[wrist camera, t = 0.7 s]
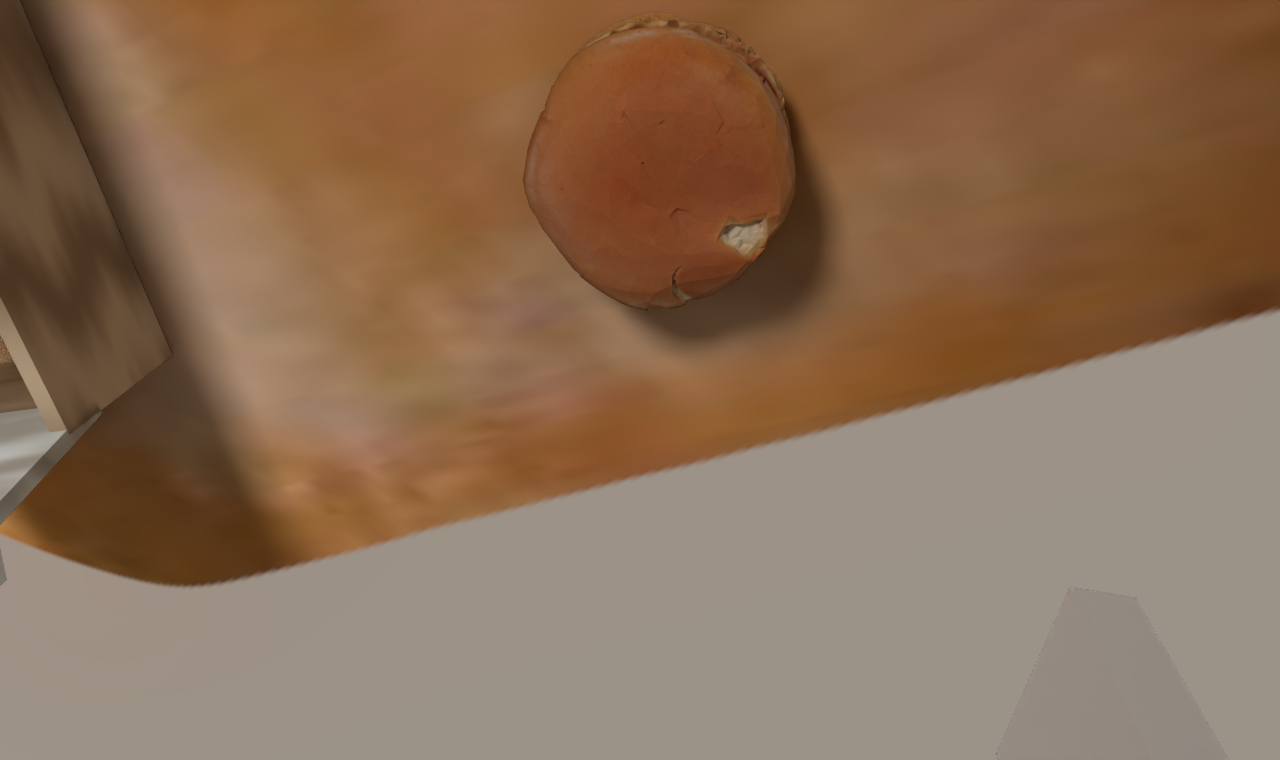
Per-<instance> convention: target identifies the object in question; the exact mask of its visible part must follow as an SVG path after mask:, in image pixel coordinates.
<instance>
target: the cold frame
mask: <svg viewBox="0 0 1280 760" xmlns="http://www.w3.org/2000/svg"><path fill="white" fill-rule="evenodd" d="M0 335H1V337H2V339H3V341H4V343H5V345H6V347H7V349H8V351H9V353H10V355H11V357H12V359H13V361H14V362H11V363H4V364H0V525H1V524H2V523H3V522H4V521H5V519H6V518H7V517H8V516H9V515H10V514H11V513H12V512H13V511H14V510H15V509H16V507H17V506H18V505H19V504H20V503H21V502H22V501H23V500H24V499H25V498H26V497H27V495H28V494H29V493H30V492H31V491H32V490H33V489H34V488H35V487H36V486H37V484H38V483H39V482H40V481H41V480H42V479H43V478H44V477H45V476H46V475H47V474H48V472H49V471H50V470H51V469H52V468H53V467H54V466H55V465H56V464H57V463H58V462H59V460H60V459H61V458H62V457H63V456H64V455H65V454H66V453H67V452H68V451H69V450H70V448H71V447H72V446H73V445H74V444H75V443H76V442H77V441H78V440H79V439H80V437H81V436H82V435H83V434H84V433H85V432H86V431H87V430H88V429H89V428H90V427H91V425H92V424H93V423H94V422H95V421H96V420H97V419H98V418H99V417H100V416H101V415H102V411H101V410H102V409H104V408H105V407H106V406H108V405H109V404H110V403H111V402H113V401H114V400H115V399H117V398H118V397H119V396H120V395H122V394H123V393H124V392H126V391H127V390H128V389H129V388H131V387H132V386H133V385H135V384H136V383H137V382H138V381H140V380H141V379H142V378H144V377H145V376H146V375H147V374H149V373H150V372H151V371H153V370H154V369H155V368H157V367H158V366H159V365H160V364H162V363H163V362H164V361H166V360H167V359H168V358H169V357H171V356H172V353H171V351H170V348H169V346H168V344H167V341H166V339H165V337H164V334H163V332H162V330H161V327H160V325H159V323H158V320H157V318H156V316H155V313H154V311H153V309H152V306H151V304H150V302H149V300H148V297H147V295H146V293H145V290H144V288H143V286H142V283H141V281H140V279H139V276H138V274H137V272H136V269H135V267H134V265H133V262H132V260H131V258H130V255H129V253H128V251H127V248H126V246H125V244H124V241H123V239H122V237H121V234H120V232H119V230H118V228H117V225H116V223H115V221H114V218H113V216H112V214H111V211H110V209H109V207H108V204H107V202H106V200H105V197H104V195H103V193H102V190H101V188H100V186H99V183H98V181H97V179H96V176H95V174H94V172H93V169H92V167H91V165H90V162H89V160H88V158H87V156H86V153H85V151H84V149H83V146H82V144H81V142H80V139H79V137H78V135H77V132H76V130H75V128H74V125H73V123H72V121H71V118H70V116H69V114H68V111H67V109H66V107H65V104H64V102H63V100H62V97H61V95H60V93H59V90H58V88H57V86H56V84H55V81H54V79H53V77H52V74H51V72H50V70H49V67H48V65H47V63H46V60H45V58H44V56H43V53H42V51H41V49H40V46H39V44H38V42H37V39H36V37H35V35H34V32H33V30H32V28H31V25H30V23H29V21H28V18H27V16H26V14H25V12H24V9H23V7H22V5H21V2H20V0H0Z"/></svg>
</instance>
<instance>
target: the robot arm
mask: <svg viewBox="0 0 1280 760" xmlns="http://www.w3.org/2000/svg"><path fill="white" fill-rule="evenodd" d="M6 580H7V578H6V574H5V569H4V564H3V560H2V555H1V550H0V585H2V584H3V583H4V582H5V581H6ZM996 755H997V759H998V760H1229V759H1228V757H1227V755H1226V754H1225V752H1224V750H1223V748H1222V747H1221V745H1220V743H1219V741H1218V740H1217V738H1216V736H1215V734H1214V733H1213V731H1212V729H1211V728H1210V726H1209V724H1208V722H1207V721H1206V719H1205V717H1204V715H1203V714H1202V712H1201V710H1200V709H1199V707H1198V705H1197V703H1196V701H1195V700H1194V698H1193V696H1192V695H1191V693H1190V691H1189V690H1188V688H1187V686H1186V684H1185V682H1184V681H1183V679H1182V677H1181V676H1180V674H1179V672H1178V670H1177V668H1176V667H1175V665H1174V663H1173V662H1172V660H1171V658H1170V656H1169V655H1168V653H1167V651H1166V649H1165V648H1164V646H1163V644H1162V642H1161V641H1160V639H1159V637H1158V636H1157V634H1156V632H1155V630H1154V629H1153V627H1152V625H1151V623H1150V622H1149V620H1148V618H1147V616H1146V615H1145V613H1144V611H1143V609H1142V608H1141V606H1140V604H1139V603H1138V601H1137V599H1136V598H1134V597H1128V596H1122V595H1116V594H1110V593H1105V592H1098V591H1093V590H1087V589H1081V588H1076V587H1069V589H1068V592H1067V594H1066V596H1065V598H1064V601H1063V603H1062V605H1061V608H1060V610H1059V612H1058V614H1057V617H1056V619H1055V621H1054V623H1053V626H1052V628H1051V630H1050V633H1049V635H1048V637H1047V639H1046V642H1045V644H1044V646H1043V648H1042V651H1041V653H1040V655H1039V658H1038V660H1037V662H1036V664H1035V667H1034V669H1033V671H1032V673H1031V676H1030V678H1029V680H1028V683H1027V685H1026V687H1025V689H1024V691H1023V694H1022V696H1021V698H1020V701H1019V703H1018V705H1017V707H1016V710H1015V712H1014V714H1013V717H1012V719H1011V721H1010V723H1009V726H1008V728H1007V730H1006V732H1005V734H1004V737H1003V739H1002V741H1001V743H1000V746H999V748H998V750H997V752H996Z"/></svg>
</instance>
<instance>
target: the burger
mask: <svg viewBox="0 0 1280 760" xmlns="http://www.w3.org/2000/svg"><path fill="white" fill-rule="evenodd" d="M784 104H785V101H784V97H783V93H782V87H781V84H780V82H779V80H778V78H777V76H776V75H775V74H774V73H773V72H772V71H771V70H770V69H769V68H768V67H767V66H766V65H765V63H764V61H763V60H762V59H761V57H760V56H759V55H758V54H757V55H756V54H755V52H754V51H753V49H752V47H750V46H747V45H746V44H745V43H743V42H741V40H740V38H739V37H738V36H736V35H734V33H733V32H732V31H731V30H730V32H728V31H727V30H725V29H723V28H719V27H716V26H713V25H710V24H706V23H700V22H690V21H685V20H682V19H679V18H676V17H675V16H673V15H672V14H663V13H650V14H644V15H640V16H636V17H632V18H628V19H625V20H623V21H621V22H618V23H616V24H614V25H611V26H610V27H608V28H607V29H605V30H603V31H602V32H600V33H598V34H597V35H595V36H594V37H593V38H591V39H590V40H589V41H588V42H587V43H586V44H584V45H583V46H582V47H581V48H580V49H579V50H578V52H577V53H576V54H575V55H574V56H573V57H572V58H571V59H570V61H569V62H568V63H567V65H566V66H565V67H564V68H563V70H562V71H561V72H560V74H559V76H558V78H557V80H556V82H555V84H554V85H553V86H552V87H551V91H550V94H549V96H548V99H547V101H546V104H545V110H544V111H543V112H542V113H541V115H540V117H539V120H538V122H537V124H536V127H535V129H534V132H533V134H532V137H531V140H530V144H529V147H528V150H527V157H526V164H525V170H524V177H523V183H524V189H525V194H526V197H527V200H528V203H529V206H530V208H531V210H532V211H533V213H534V215H535V216H536V218H537V219H538V221H539V223H540V225H541V227H542V229H543V230H544V231H545V233H546V234H547V235H548V237H549V238H550V239H551V241H552V242H553V243H554V245H555V246H556V247H557V249H558V250H559V251H560V252H561V254H562V255H563V256H564V258H565V259H566V260H567V261H568V263H569V264H570V265H571V267H572V268H573V269H574V270H575V271H576V272H578V273H579V274H580V276H581V278H583V279H584V280H585V281H587V282H588V283H589V284H591V285H592V286H594V287H595V288H596V289H598V290H599V291H601V292H602V293H604V294H606V295H607V296H609V297H611V298H613V299H615V300H617V301H619V302H620V303H623V304H626V305H628V306H631V307H634V308H637V309H642V310H646V311H647V309H648V308H675V307H679V306H683V305H685V304H686V302H687V300H691V299H699V298H703V297H706V296H709V295H713V294H715V293H716V292H718V291H719V290H721V289H723V288H724V287H726V286H728V285H729V284H731V283H733V282H734V281H736V280H738V279H739V278H740V277H741V276H742V275H743V274H744V272H745V271H746V270H747V269H748V268H749V267H750V265H751V264H752V263H753V262H754V261H755V260H756V259H757V258H758V257H759V256H760V255H761V254H762V252H763V251H764V250H765V248H766V246H767V245H768V243H769V242H770V241H771V239H772V238H773V237H774V236H775V234H776V233H777V231H778V230H779V228H780V227H781V226H782V224H783V223H784V221H785V220H786V218H787V215H788V212H789V210H790V207H791V204H792V201H793V198H794V196H795V181H796V170H795V160H794V150H793V147H792V143H791V132H790V125H789V121H788V116H787V113H786V111H785V108H784Z"/></svg>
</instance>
